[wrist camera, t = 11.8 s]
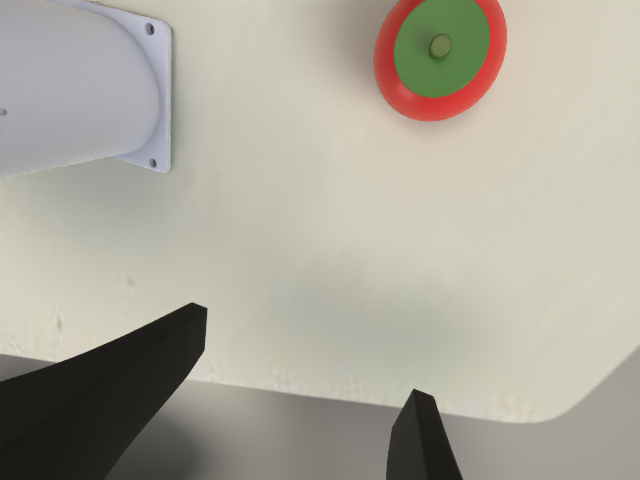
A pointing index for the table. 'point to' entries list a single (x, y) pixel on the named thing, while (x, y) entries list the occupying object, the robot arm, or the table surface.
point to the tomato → (439, 55)
